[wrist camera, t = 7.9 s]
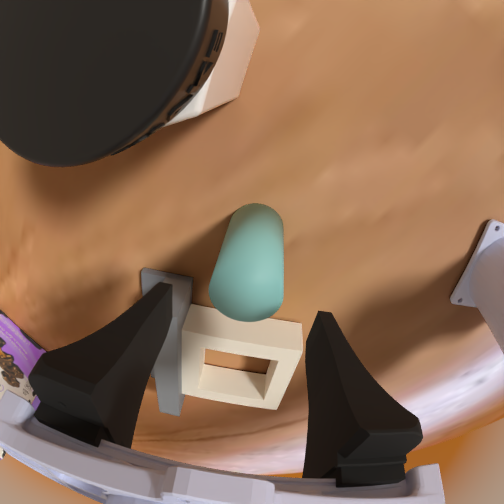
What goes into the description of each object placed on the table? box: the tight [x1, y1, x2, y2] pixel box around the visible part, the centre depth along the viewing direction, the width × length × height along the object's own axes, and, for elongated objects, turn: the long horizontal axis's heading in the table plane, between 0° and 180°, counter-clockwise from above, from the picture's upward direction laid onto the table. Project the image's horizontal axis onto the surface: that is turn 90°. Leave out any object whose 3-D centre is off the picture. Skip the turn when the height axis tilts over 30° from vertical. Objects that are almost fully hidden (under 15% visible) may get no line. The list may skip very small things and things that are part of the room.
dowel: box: [209, 203, 284, 322], centre depth 18 cm, size 4×4×7 cm
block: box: [182, 304, 303, 410], centre depth 26 cm, size 9×9×3 cm
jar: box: [0, 0, 260, 167], centre depth 10 cm, size 9×8×12 cm
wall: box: [141, 268, 193, 416], centre depth 25 cm, size 4×14×4 cm, turn 171°
